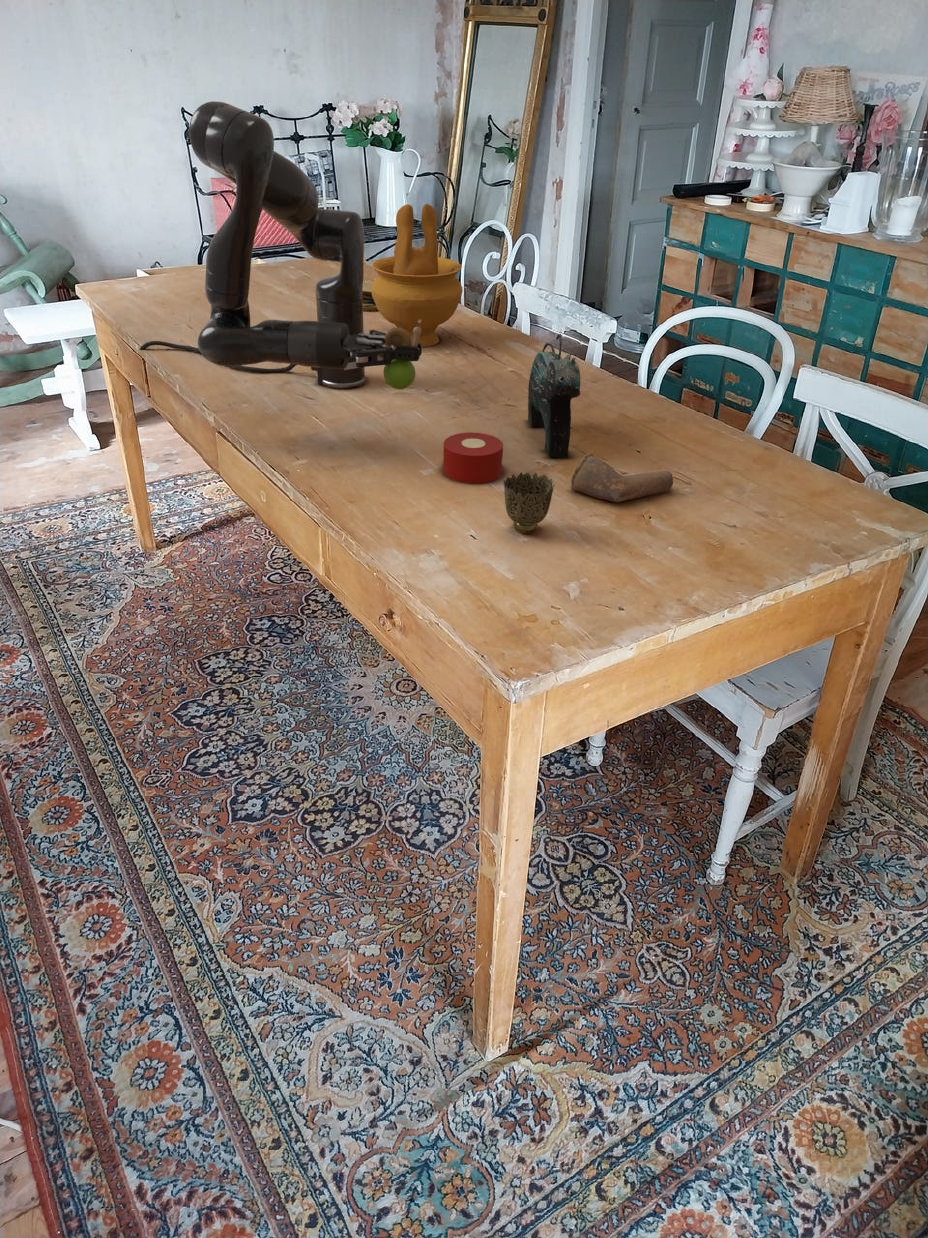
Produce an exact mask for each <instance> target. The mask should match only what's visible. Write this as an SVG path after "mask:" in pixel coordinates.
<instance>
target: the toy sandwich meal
mask: <svg viewBox="0 0 928 1238" xmlns="http://www.w3.org/2000/svg"><path fill="white" fill-rule="evenodd" d="M373 281H374V280H369V279H367V280H366V279H365V280H364V279H363V290H362V293H363V312H364V311H365V312H369V311H370V312H372V311H379V310H378V308H377V306H376V304H375V302H374V299H373V297H372V293H371V285H372V283H373Z"/></svg>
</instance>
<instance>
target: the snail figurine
mask: <svg viewBox="0 0 928 1238" xmlns="http://www.w3.org/2000/svg"><path fill="white" fill-rule="evenodd" d="M421 323H422V320H419V321H418V324H419V327H415V328H414V329H413V334H414V335H413V339H412V342H411V337H410V335H409V334H408V332H407V331H406V330H404V329H402V328H398V327H396V326H395V327H392V328H391V329H390V328H389V329H388V330H387V332H386V333H387V334H386V337H385V342H386V344H388V345H396V348H397V346H409V347H417V346H418V342H419V338H420V334H421V328H420V327H421ZM412 362H413V361H405V360H397V359H396V361H394V362H392V361H391V364H389V365H384V367H383V379H384V380H385V383H386V384H387V385H388V386H389V387H391V388H392V389H394V390H405V389H407V388H409V387H410V386H411V385H412V384H413V383H414V381H415V378H416V368H415V365H414V364H413V363H412Z"/></svg>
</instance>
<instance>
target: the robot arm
mask: <svg viewBox="0 0 928 1238" xmlns="http://www.w3.org/2000/svg"><path fill="white" fill-rule="evenodd" d="M188 135H189V136H188V137H189V141H190V145H191V148H192V151H193V153H194V154H195V156H196V158H197V159H198V160H199V162H200V163H202V164H203V165H204V166H206V167H208V168H210V169H212V170H214V171H216V172H217V173H219V174H221V175H222V176H224V177H226V178H227V179H229V180H230V181H231V182H232V183H234V184H235V185H236V191H235V192H236V193H235V200H234V203H233V207H232V209H231V211H230V212H229V214H228V216H227V218H226V219H225V221H224V222H223V223H222V224H221V226H220V227H219V228H218V230H217V231H216V233H214V235H213V237H212V239H211V241H210V243H209V246H208V249H207V252H206V258H205V259H206V260H205V279H204V282H205V283H204V288H205V289H204V291H205V292H204V293H205V297H206V300H207V301H208V303H209V304H210V316H209V320H208V321H207V323H206V324H205V325H204V326H203V328H202V329H201V331H200V333H199V335H198V337H197V347H194V346H192V345H191V346H190V345H183V344H177V343H171V342H168V341H167V342H166V341H161V340H150V341H147V342H145V343H143V344H142V345H140V347H139V351H144V350H146V349H147V348H149V347H152V346H162V347H166V348H172V349H176V350H182V351H183V350H184V351H191V352H194V353H198V354H201V355H202V356H203V358H204V359H205V360H207V361H208V362H209V363H212V364H214V365H218V366H221V367H229V368H232V369H236V370H239V371H244V372H245V371H246V372H253V373H261V374H281V373H286V372H287V373H288V372H290V371H292V370H293V369H294V368H295V367H296V366H301V367H308V368H310V371H315V372H316V373H317V374H316V375H317V385H323V386H324V387H325V386H326V387H328V388H334V389H352V388H357V387H360V386H362V385H364V384H365V383H366V375H365V374H366V369H365V368H369V367H378V366H385V365H389V364H391V361H392V362H394V361H396V359H397V360H405V361H411V362H418V361H420V357H421V356H422V353H423V351H422V348H423V347H422V345H421V343H418V346H417V347H409V346H397V348H396V345H388V344H386V342H385V337H386V334H387V332H382V331H380V330H376V329H369V331H368V332H369V333H368V332H364V310H363V293H362V290H363V280H364V277H365V275H364V272H365V271H364V266H365V265H364V263H365V261H364V260H365V257H364V255H365V228H364V222H363V219H362V217H361V216H360V214H359V213H357V212H355V211H349V210H341V209H340V210H339V209H328V208H327V209H326V208H320V207H319V202H320V198H319V192H318V189H317V186H316V185H315V184H314V182H313V181H312V179H311V178H310V176H308V175H307V174H306V173H305V172H304V171H303V170H302V169H301V167H299V166H298V165H297V164H295V162H293V161H291V160H290V159H289V158H287V157H285V156H284V155H282V154H280V153H279V152H276V151H275V138H274V132H273V129H272V127H271V125H270V123H269V122H268V121H267V120H266V119H264V118H262V117H260V116H259V115H256V114H254V113H252V112H250V111H247V110H244V109H242V108H239V107H236V106H234V105H232V104H229V103H227V102H223V101H215V100H211V101H207V102H204V103H202V104H200V106H198V107H197V108H196V110H194V112H193V114H192V115H191V117H190V121H189V126H188ZM262 210H263V211H264V212H265V213H266V214H267V215H268V216H269V217H270V218H272V219H273V221H275V222H277V223H278V224H280V225H281V226H282V227H283V228H285V230H287V231H288V232H289V233H290V234H291V235H292V236H293V237H294V238H295V240H297V242H298V243H299V244H300V245H301V247H302V248H303V249H304V250H305V251H306V252H307V254H309V256H311V257H312V258H314V259H316V260H318V261H326V262H335V263H340V271H339V272H338V273H336V274H335V275H331V276H327V277H324V278H321V279H319V280H318V281H317V282H316V283H315V303H316V320H287V319H286V320H285V319H284V320H283V319H265V320H262V321H260V322H259V323H257V324H255V325H251V313H250V312H251V310H250V304H249V303H250V302H249V293H250V284H251V282H250V281H251V272H252V271H251V268H252V260H253V259H252V257H253V251H254V245H255V244H254V243H255V239H256V236H257V235H256V234H257V230H258V227H259V223H260V217H261V214H262ZM262 363H274V364H275V363H276V364H288V365H287V366H285V367H279V368H263V367H254V366H250V365H255V364H262ZM248 365H249V366H248Z"/></svg>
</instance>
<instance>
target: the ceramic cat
mask: <svg viewBox="0 0 928 1238" xmlns="http://www.w3.org/2000/svg"><path fill="white" fill-rule="evenodd" d="M555 338H556V340H558V339H559V350H558V353H556V350H555V348H554V346H553V344H552V343H551V342H546V343H544V346H543V348H542V351H539V352H537V354H536V355H535V357H534V359H533V362H532V366H531V368H530V369H531V370H530V374H529V380H528V387H527V391H528V392H527V421H528V425H529V426H530V427H531V428H544V435H545V436H544V452H545V453H546V454H547V457H548V458H550V459H559V458H568V456H569V448H570V441H571V435H572V433H571V432H572V431H571V429H572V428H571V426H572V409H571V407H572V406H571V405H572V404H571V402H572V400H573V399H574V398H578V397H579V396H580V395H581V371H580V367H579V364H578V363H577V361H576V357H573V358H571V356H572V352H570V353H568V354H567V355H566V356H565V357H564V358H562V355H561V354H562V346H563V339H562V334H561V333H558V334H557V336H556V337H555ZM548 346H549V347H550V348H551V351H546V349H547V347H548Z"/></svg>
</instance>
